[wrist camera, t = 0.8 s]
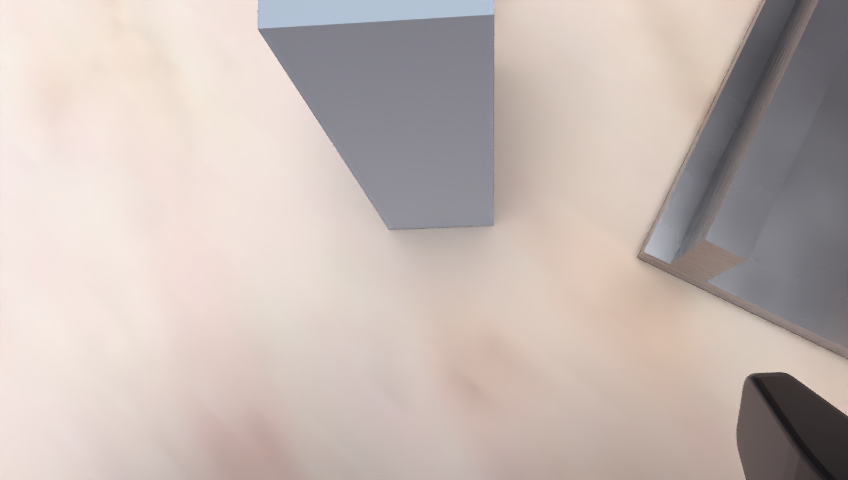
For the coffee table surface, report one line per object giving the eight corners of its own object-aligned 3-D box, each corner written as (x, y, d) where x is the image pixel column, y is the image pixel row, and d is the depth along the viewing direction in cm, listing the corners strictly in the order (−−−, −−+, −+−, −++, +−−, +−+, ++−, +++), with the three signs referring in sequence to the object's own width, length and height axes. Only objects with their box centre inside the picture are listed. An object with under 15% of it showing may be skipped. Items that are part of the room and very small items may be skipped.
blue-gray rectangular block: (493, 225, 23) (494, 14, 10) (388, 229, 23) (258, 29, 10) (486, 60, 23) (479, -327, 11) (386, 66, 24) (263, -307, 11)
